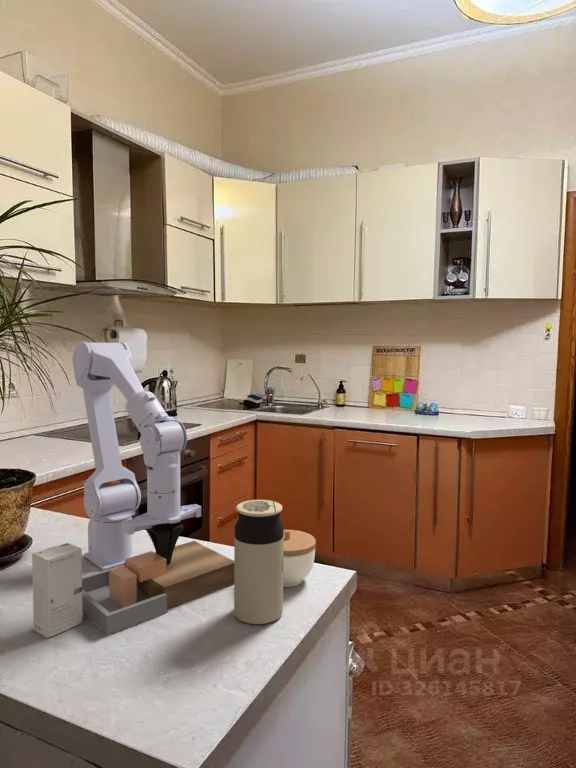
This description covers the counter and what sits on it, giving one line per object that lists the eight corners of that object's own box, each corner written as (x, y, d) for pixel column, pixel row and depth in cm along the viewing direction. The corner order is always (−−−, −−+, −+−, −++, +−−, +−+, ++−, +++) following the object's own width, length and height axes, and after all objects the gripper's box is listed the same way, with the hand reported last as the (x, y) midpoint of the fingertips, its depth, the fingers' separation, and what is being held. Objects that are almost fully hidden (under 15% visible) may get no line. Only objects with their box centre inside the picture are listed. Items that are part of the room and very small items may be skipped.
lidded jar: (247, 584, 98) (247, 534, 97) (275, 563, 108) (276, 517, 107) (299, 598, 93) (300, 546, 92) (324, 574, 103) (325, 527, 102)
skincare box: (48, 639, 79) (46, 560, 78) (31, 630, 82) (29, 553, 81) (84, 622, 84) (83, 547, 83) (68, 613, 87) (67, 541, 86)
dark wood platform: (125, 582, 98) (124, 561, 98) (194, 559, 109) (194, 540, 108) (164, 610, 88) (164, 587, 88) (236, 583, 99) (236, 562, 98)
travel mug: (230, 625, 84) (231, 513, 83) (237, 600, 92) (238, 498, 91) (281, 627, 84) (282, 514, 82) (284, 602, 92) (285, 499, 90)
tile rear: (126, 572, 93) (125, 558, 93) (151, 564, 97) (151, 550, 97) (140, 582, 90) (140, 567, 90) (166, 573, 93) (166, 559, 93)
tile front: (123, 592, 93) (109, 597, 92) (122, 565, 93) (109, 569, 91) (136, 603, 90) (122, 608, 88) (136, 574, 89) (122, 579, 88)
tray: (67, 598, 92) (67, 581, 92) (123, 580, 99) (122, 564, 99) (107, 635, 81) (107, 616, 80) (167, 612, 88) (166, 594, 87)
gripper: (137, 502, 87) (138, 583, 88) (210, 486, 97) (210, 559, 98) (117, 493, 92) (118, 569, 93) (189, 478, 102) (189, 548, 103)
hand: (164, 563), depth 96 cm, fingers closed
